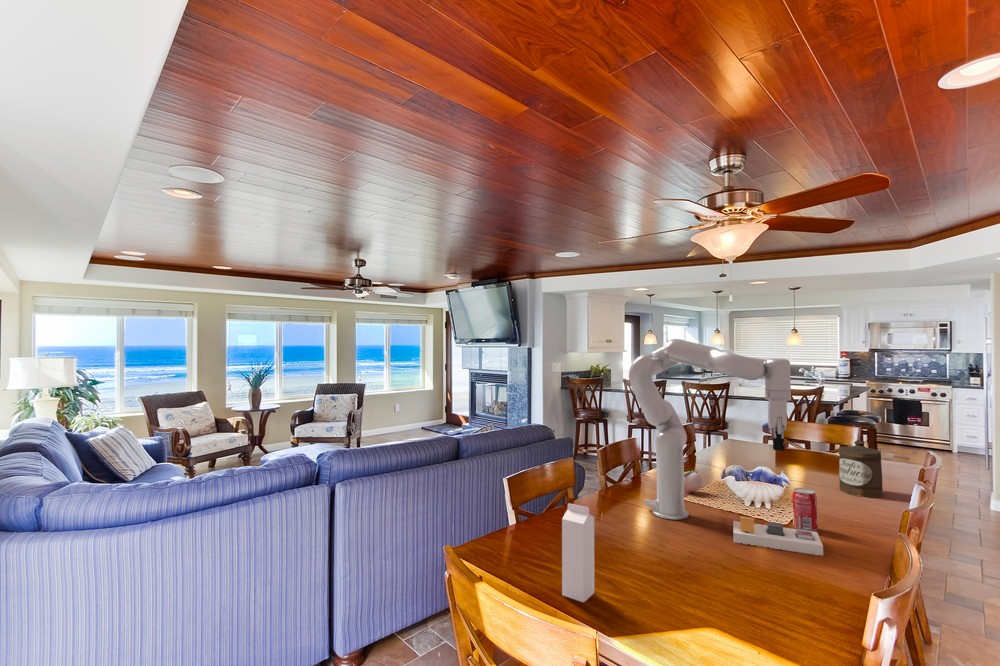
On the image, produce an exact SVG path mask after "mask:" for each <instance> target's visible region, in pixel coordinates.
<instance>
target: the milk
mask: <svg viewBox="0 0 1000 666" xmlns="http://www.w3.org/2000/svg"><path fill="white" fill-rule="evenodd" d="M561 565H562V566H561V572H562V573H561V575H562V576H561V593H562V596H563V597H566V598H569V599H572V600H575V601H578V602H580V603H582V604H583V603H585V602H587V600H589V598H591V597H592V596H593V595H594V594H595V517H594V516H593V515H592V514H591V513H590V508H589V507H588V506H583V505H579V504H574V503H570V502H569V503H567V510H566V511H565V512H564V515H563V517H562V519H561Z"/></svg>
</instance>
